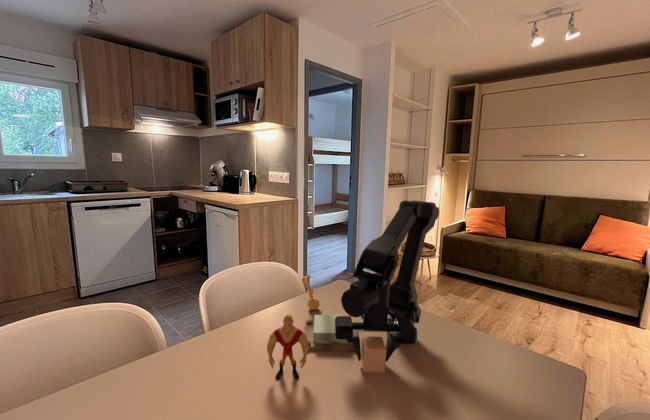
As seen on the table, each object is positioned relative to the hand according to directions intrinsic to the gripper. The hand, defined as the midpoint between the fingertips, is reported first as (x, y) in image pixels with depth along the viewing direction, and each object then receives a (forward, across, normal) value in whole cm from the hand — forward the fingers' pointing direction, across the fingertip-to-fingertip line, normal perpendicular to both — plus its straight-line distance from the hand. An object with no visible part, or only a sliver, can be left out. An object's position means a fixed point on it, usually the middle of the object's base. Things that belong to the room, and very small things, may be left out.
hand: (372, 360), depth 72 cm
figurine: (+1, +16, -26) cm, 31 cm away
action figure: (+1, +20, +4) cm, 20 cm away
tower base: (+1, +10, -11) cm, 15 cm away
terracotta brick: (+1, 0, 0) cm, 1 cm away
